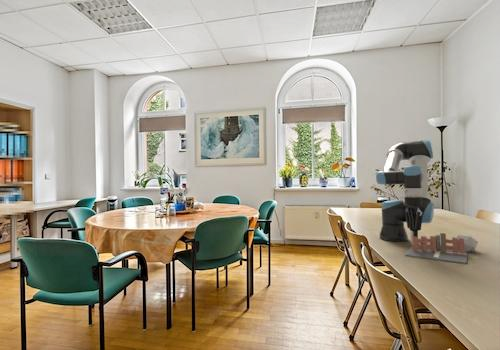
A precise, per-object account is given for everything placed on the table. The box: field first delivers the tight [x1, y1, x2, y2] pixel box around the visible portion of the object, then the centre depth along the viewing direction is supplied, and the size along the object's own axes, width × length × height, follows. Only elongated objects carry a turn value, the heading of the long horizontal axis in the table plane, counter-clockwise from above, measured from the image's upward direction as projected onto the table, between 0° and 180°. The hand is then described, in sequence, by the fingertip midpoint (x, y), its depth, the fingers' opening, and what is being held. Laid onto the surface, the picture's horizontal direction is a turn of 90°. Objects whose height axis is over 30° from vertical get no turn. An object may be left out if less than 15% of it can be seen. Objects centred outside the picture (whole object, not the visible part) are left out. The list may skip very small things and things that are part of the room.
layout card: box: [404, 245, 468, 265], centre depth 131 cm, size 20×23×1 cm
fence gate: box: [411, 234, 441, 251], centre depth 134 cm, size 13×2×7 cm, turn 88°
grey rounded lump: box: [456, 234, 479, 253], centre depth 135 cm, size 8×9×10 cm
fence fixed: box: [439, 232, 465, 254], centre depth 130 cm, size 9×2×9 cm, turn 51°
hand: (414, 243), depth 137 cm, fingers closed
